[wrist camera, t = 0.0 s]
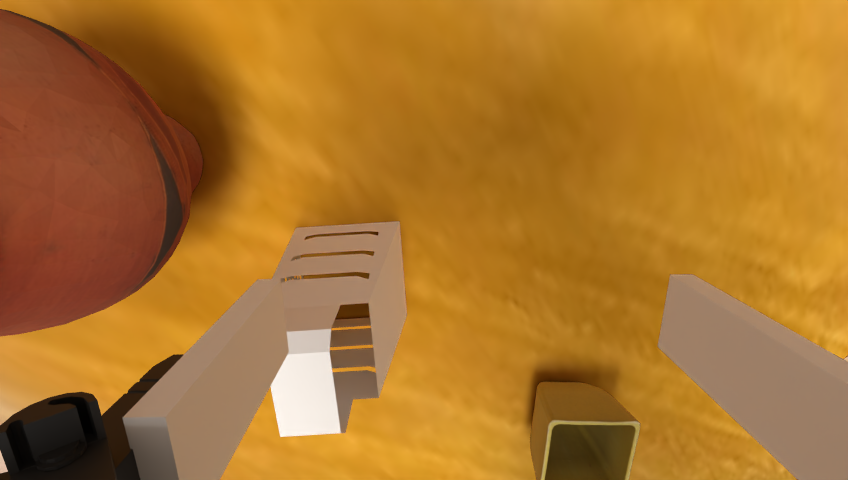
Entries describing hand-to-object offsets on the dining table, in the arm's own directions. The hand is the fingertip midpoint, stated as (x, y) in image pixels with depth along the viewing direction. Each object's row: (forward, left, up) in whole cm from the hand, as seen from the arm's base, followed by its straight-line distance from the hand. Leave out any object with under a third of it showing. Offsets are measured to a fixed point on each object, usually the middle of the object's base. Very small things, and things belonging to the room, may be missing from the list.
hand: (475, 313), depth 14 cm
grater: (-9, +9, -28) cm, 31 cm away
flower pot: (-25, -14, -28) cm, 40 cm away
